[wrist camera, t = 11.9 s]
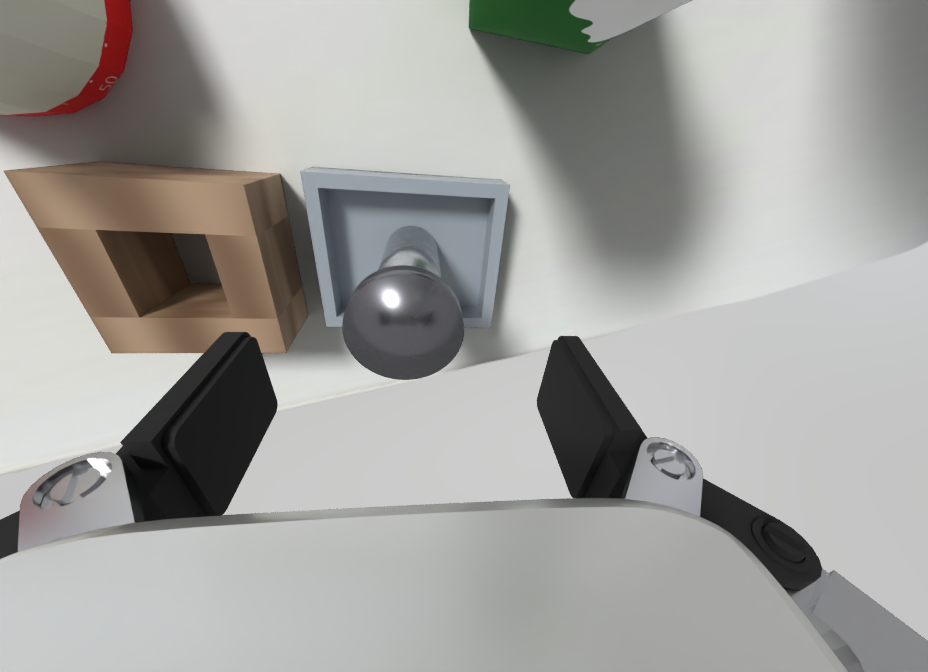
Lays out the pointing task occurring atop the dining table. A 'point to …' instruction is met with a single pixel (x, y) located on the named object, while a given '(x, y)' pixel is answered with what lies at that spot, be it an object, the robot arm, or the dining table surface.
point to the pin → (404, 311)
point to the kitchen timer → (60, 53)
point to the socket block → (170, 252)
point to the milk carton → (565, 19)
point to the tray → (397, 205)
